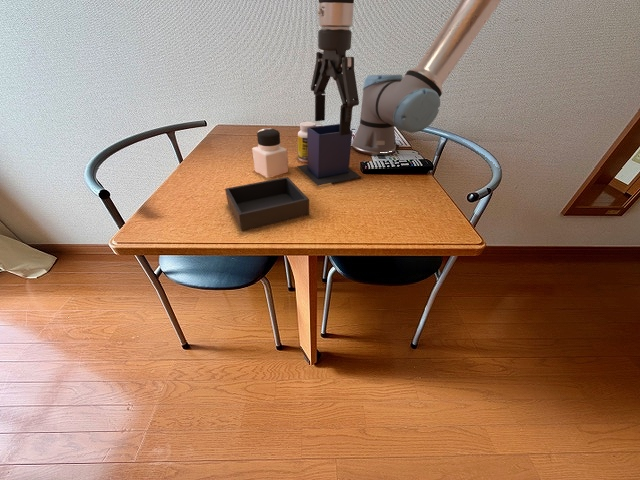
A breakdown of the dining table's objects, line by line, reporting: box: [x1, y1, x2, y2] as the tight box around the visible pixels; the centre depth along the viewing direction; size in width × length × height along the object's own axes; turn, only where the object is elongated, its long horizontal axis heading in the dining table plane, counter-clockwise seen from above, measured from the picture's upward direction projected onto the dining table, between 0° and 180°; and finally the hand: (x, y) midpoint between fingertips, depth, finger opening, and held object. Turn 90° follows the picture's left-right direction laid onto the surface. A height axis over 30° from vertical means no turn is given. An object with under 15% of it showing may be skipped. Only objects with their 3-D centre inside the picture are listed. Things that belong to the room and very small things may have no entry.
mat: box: [296, 164, 362, 186], centre depth 84 cm, size 14×14×1 cm
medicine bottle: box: [251, 127, 289, 179], centre depth 80 cm, size 7×7×12 cm
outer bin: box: [224, 176, 310, 232], centre depth 65 cm, size 15×12×5 cm
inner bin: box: [306, 123, 353, 179], centre depth 80 cm, size 10×7×12 cm
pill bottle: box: [297, 121, 317, 163], centre depth 89 cm, size 6×6×11 cm
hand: (331, 127), depth 77 cm, fingers open, 13 cm apart
